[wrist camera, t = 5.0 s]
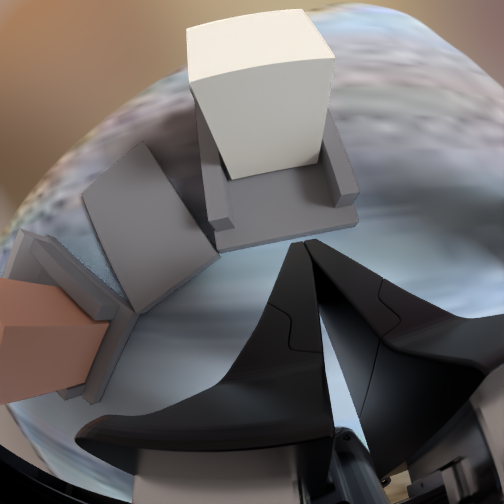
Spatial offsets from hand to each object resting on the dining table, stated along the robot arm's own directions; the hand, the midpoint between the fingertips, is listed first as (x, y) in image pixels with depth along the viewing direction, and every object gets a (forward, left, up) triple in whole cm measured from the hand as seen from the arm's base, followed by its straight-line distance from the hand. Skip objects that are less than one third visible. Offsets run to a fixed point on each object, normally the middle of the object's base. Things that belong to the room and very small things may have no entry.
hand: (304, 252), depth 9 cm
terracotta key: (+5, +14, -5) cm, 16 cm away
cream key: (+7, -3, -5) cm, 9 cm away
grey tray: (+7, +6, -6) cm, 11 cm away
